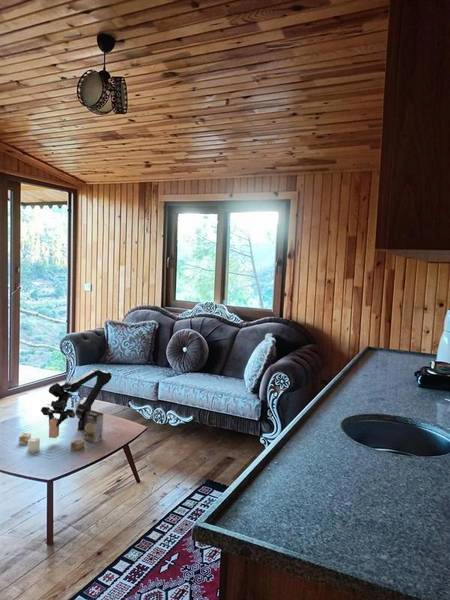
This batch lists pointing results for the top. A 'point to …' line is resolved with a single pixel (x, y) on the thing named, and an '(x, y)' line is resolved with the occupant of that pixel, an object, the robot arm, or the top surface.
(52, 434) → the terracotta brick
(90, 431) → the coffee box
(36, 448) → the cream jar
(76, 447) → the walnut block
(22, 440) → the oak block
